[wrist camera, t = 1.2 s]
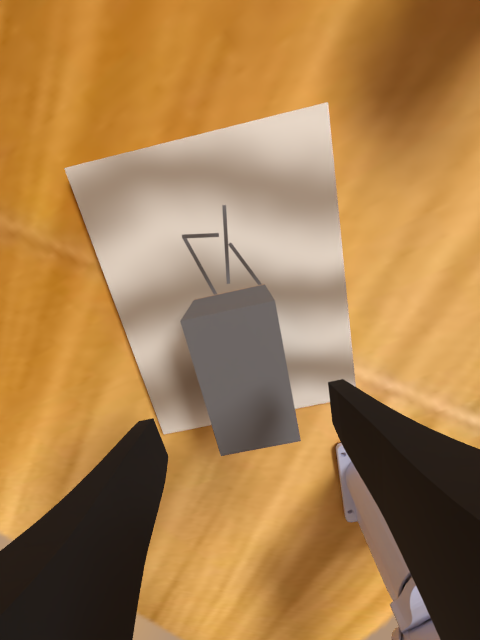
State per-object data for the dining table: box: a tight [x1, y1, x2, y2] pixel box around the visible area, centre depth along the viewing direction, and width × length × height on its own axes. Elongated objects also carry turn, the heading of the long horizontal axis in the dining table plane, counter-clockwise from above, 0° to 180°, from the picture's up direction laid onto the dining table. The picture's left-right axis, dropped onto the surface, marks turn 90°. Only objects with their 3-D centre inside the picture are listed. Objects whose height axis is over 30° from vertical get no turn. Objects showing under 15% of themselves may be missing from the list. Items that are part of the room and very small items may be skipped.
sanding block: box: [180, 284, 301, 456], centre depth 17 cm, size 9×5×5 cm, turn 13°
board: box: [64, 102, 356, 434], centre depth 19 cm, size 20×16×1 cm
